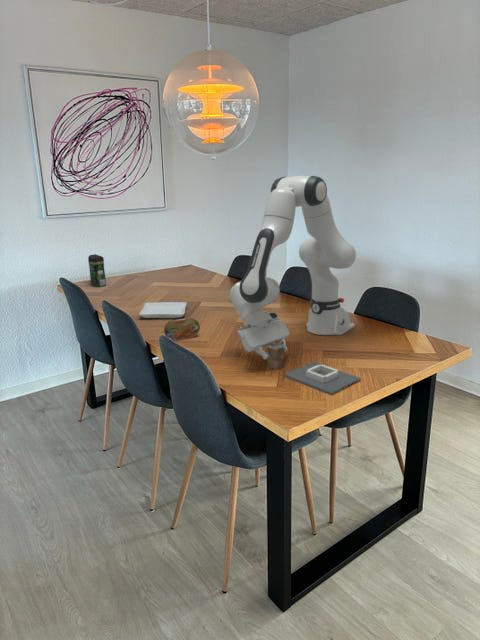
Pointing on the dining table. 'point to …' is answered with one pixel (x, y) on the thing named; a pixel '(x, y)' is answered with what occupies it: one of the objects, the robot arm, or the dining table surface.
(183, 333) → the tin
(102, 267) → the coffee jar
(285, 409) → the dining table surface
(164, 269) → the dining table surface
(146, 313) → the salad plate
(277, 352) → the plug
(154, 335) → the dining table surface
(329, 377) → the end holder
